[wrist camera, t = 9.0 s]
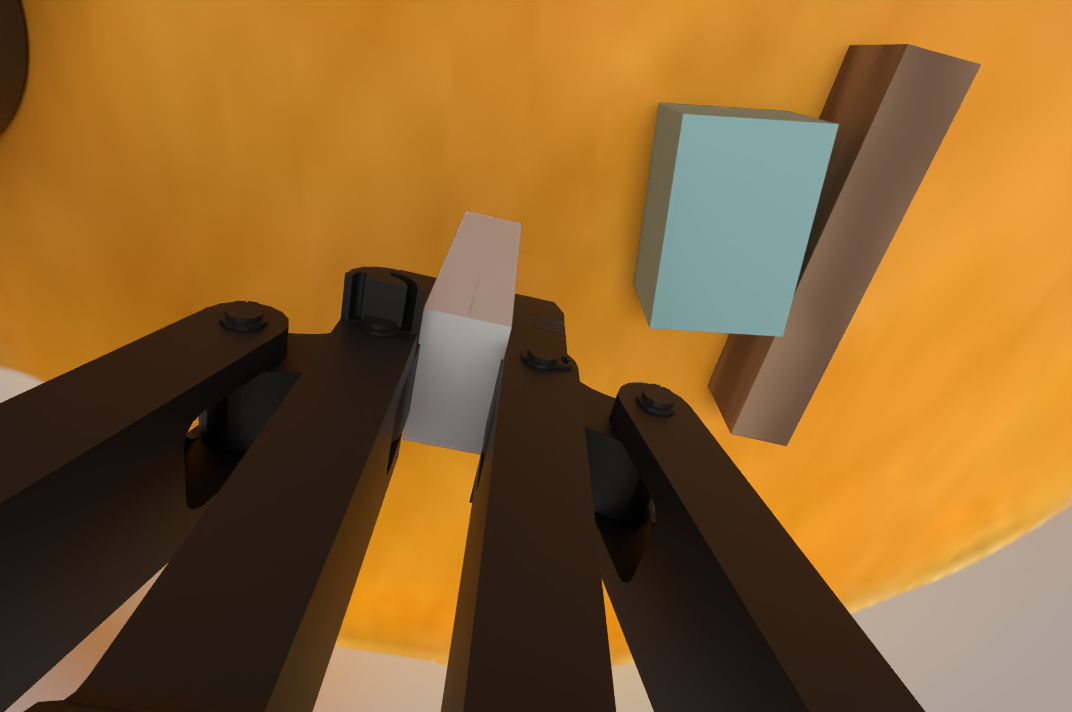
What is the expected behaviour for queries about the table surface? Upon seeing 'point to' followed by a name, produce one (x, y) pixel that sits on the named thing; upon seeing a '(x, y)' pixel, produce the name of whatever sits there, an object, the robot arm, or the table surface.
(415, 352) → the robot arm
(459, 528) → the table surface
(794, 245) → the block
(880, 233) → the board
